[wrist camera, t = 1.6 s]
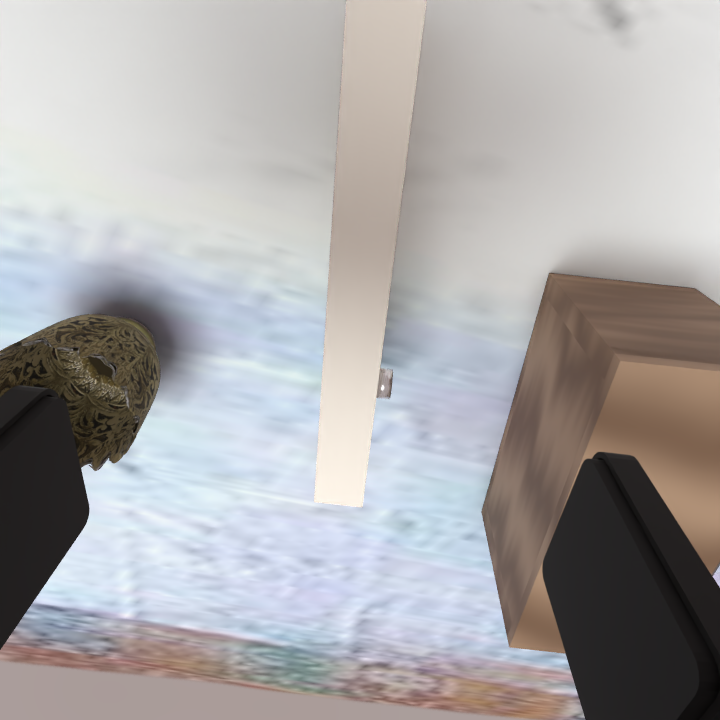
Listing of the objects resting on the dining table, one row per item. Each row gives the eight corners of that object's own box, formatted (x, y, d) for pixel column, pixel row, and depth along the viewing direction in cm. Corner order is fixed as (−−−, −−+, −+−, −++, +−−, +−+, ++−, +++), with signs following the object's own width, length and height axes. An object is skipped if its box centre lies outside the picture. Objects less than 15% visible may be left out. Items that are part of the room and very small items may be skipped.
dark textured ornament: (215, 350, 32) (165, 428, 25) (139, 409, 34) (74, 494, 27) (120, 257, 29) (33, 314, 22) (46, 328, 31) (-53, 399, 24)
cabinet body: (549, 273, 28) (620, 361, 19) (695, 288, 28) (832, 383, 19) (481, 511, 37) (509, 647, 28) (592, 523, 37) (655, 663, 28)
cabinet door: (369, 11, 23) (349, -48, 12) (432, 17, 23) (465, -36, 12) (340, 361, 32) (313, 502, 21) (385, 366, 32) (381, 509, 21)
